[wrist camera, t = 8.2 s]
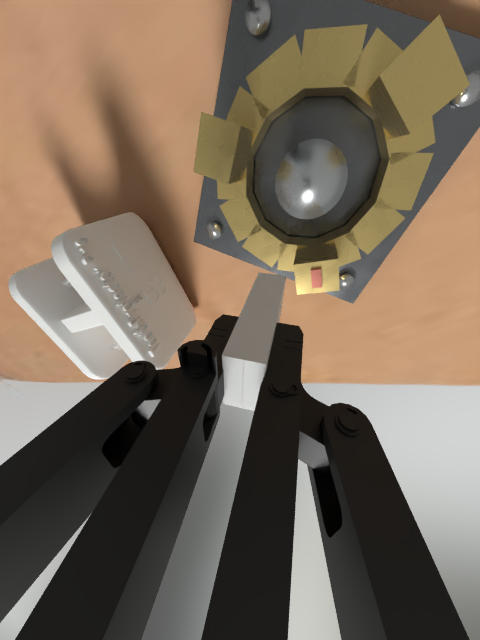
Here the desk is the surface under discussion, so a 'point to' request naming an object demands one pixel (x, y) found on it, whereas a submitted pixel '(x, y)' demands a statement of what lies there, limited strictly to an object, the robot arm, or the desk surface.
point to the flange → (326, 134)
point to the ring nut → (368, 95)
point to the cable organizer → (107, 296)
